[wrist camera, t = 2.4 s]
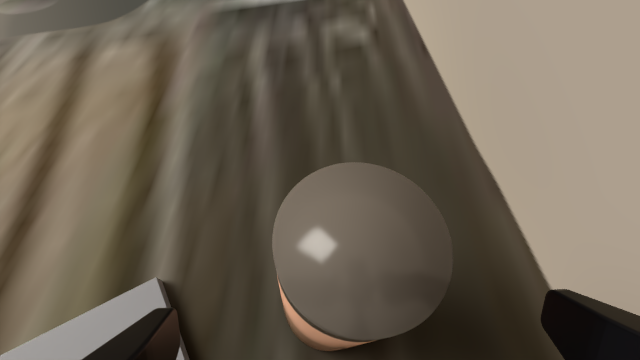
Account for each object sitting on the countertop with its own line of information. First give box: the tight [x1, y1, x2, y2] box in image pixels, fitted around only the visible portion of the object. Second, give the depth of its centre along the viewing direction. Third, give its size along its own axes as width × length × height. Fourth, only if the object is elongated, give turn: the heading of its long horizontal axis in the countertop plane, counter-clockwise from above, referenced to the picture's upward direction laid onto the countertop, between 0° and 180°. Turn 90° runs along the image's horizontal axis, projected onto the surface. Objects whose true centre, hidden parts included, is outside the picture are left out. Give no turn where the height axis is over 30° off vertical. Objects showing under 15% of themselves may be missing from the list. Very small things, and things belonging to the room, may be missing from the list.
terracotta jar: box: [272, 162, 453, 351], centre depth 13 cm, size 5×5×10 cm
